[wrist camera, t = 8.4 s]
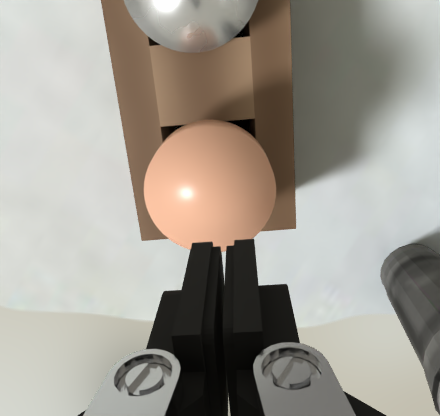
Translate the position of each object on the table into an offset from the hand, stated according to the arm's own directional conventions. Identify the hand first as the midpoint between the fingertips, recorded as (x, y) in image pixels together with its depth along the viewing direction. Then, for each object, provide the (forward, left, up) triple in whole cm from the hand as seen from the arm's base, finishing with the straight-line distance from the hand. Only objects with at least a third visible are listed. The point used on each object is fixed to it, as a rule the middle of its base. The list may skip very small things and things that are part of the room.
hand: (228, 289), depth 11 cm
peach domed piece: (+1, 0, -16) cm, 16 cm away
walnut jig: (+1, -5, -18) cm, 19 cm away
